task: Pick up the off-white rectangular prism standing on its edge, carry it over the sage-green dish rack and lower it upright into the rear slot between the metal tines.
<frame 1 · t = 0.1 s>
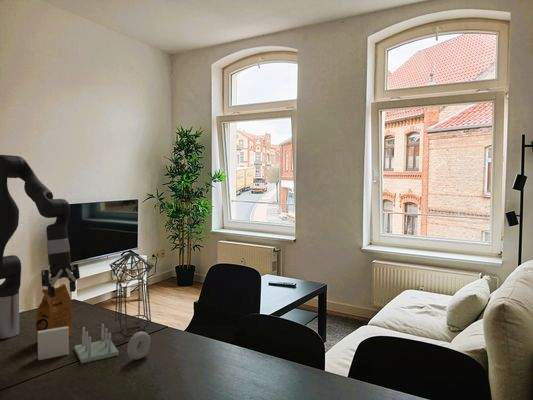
hand: (62, 294, 152), 22 cm above the table, tool pointing down, fingers open, 8 cm apart
donut: (139, 359, 149), on the table
off-white rectangular prism: (53, 356, 150), on the table
geometric lantern: (131, 332, 175), on the table
coffee package: (53, 340, 165), on the table
dish rack: (96, 352, 154), on the table
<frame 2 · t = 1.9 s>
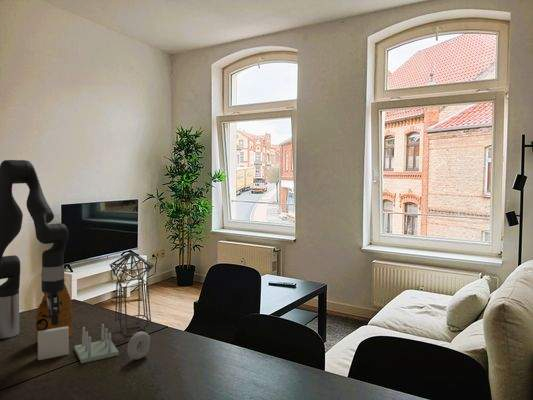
hand: (53, 321, 149), 13 cm above the table, tool pointing down, fingers open, 8 cm apart
nothing on the table moved.
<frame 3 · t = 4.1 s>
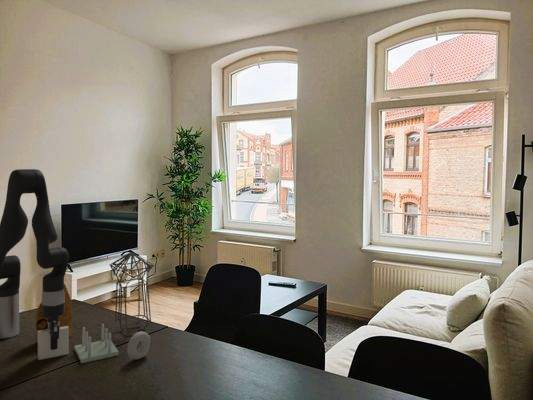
hand: (53, 347, 150), 3 cm above the table, tool pointing down, fingers closed on off-white rectangular prism, 2 cm apart
off-white rectangular prism: (53, 355, 150), on the table, touching gripper
everything else where it was.
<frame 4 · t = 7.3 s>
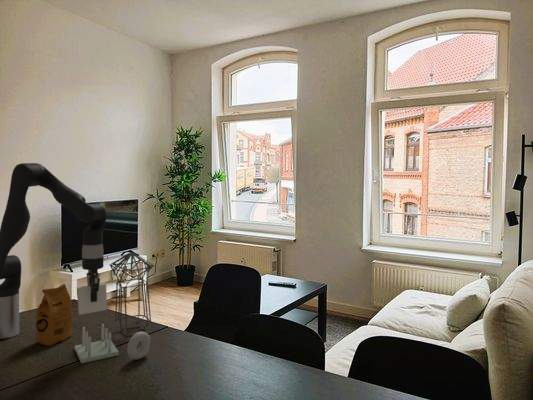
hand: (93, 300, 155), 19 cm above the table, tool pointing down, fingers closed on off-white rectangular prism
off-white rectangular prism: (92, 311, 155), point 15 cm above the table, touching gripper
everything else where it was.
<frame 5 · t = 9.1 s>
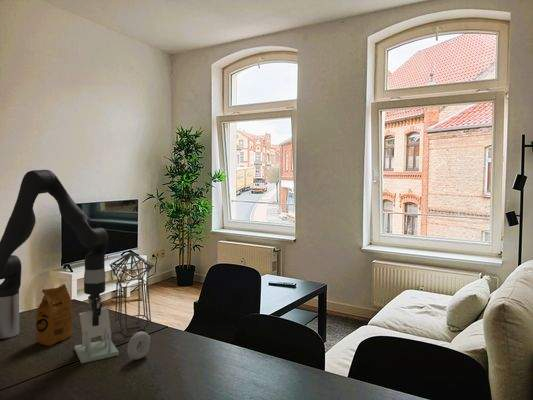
hand: (94, 324, 156), 10 cm above the table, tool pointing down, fingers closed on off-white rectangular prism
off-white rectangular prism: (96, 335, 156), point 6 cm above the table, tilted 7°, touching gripper
everything else where it was.
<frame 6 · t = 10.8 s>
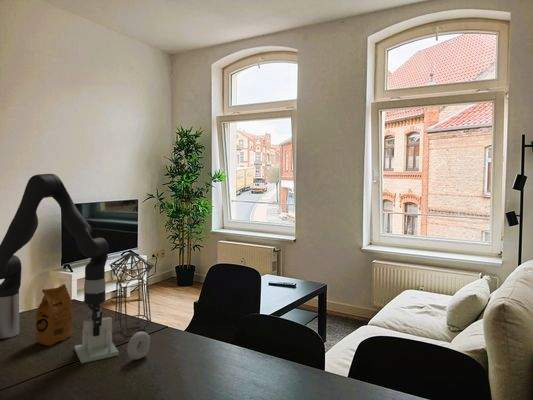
hand: (94, 333, 156), 6 cm above the table, tool pointing down, fingers open, 4 cm apart
off-white rectangular prism: (97, 345, 157), point 1 cm above the table, touching dish rack
everything else where it was.
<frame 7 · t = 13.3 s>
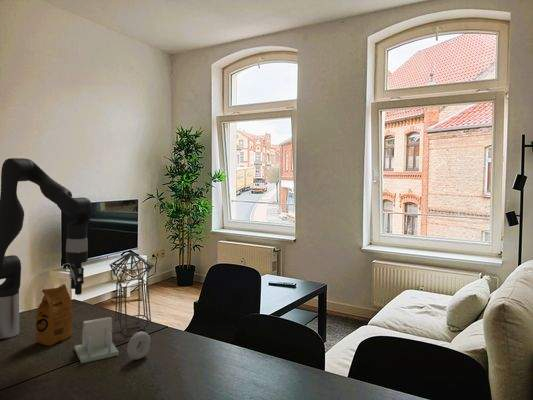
hand: (76, 291, 155), 23 cm above the table, tool pointing down, fingers open, 8 cm apart
nothing on the table moved.
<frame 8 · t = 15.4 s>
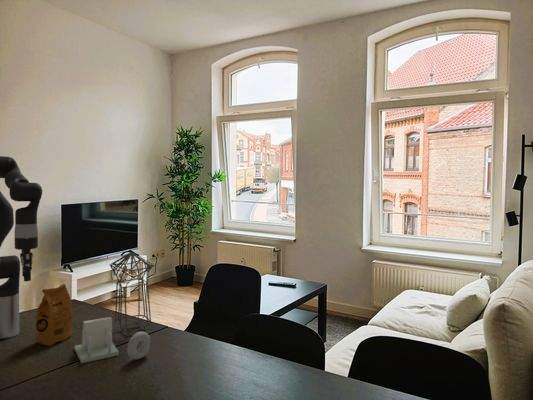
hand: (26, 278, 152), 28 cm above the table, tool pointing down, fingers open, 8 cm apart
nothing on the table moved.
at the end: off-white rectangular prism 1.1 cm from the target spot on the dish rack, point 1.5 cm above the dish rack's base; off-white rectangular prism tilted 0°; the gripper is holding nothing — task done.
